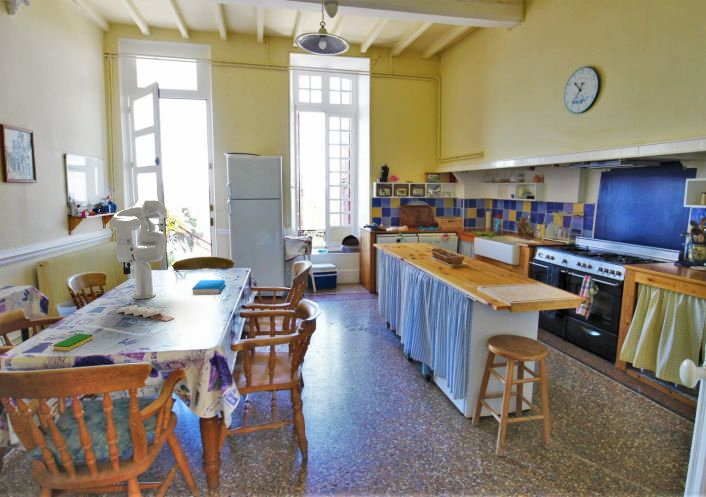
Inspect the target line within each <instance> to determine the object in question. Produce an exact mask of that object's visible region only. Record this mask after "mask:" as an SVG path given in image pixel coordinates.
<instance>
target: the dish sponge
mask: <svg viewBox="0 0 706 497" xmlns="http://www.w3.org/2000/svg"><path fill="white" fill-rule="evenodd" d="M93 338H94V337H93V334H88V333H86V334H85V333H77V334H75V335H72V336H70V337H68V338H65V339H64V340H60V341H59V342H57V343H55V344H53V350H54V349H57V351H71V350H73V349H75V348H78V347H79V346H81V345H83V344H85V343H88V342H89V340H90V341H91V339H92V340H93ZM87 341H88V342H87Z"/></svg>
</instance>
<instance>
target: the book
mask: <svg viewBox="0 0 706 497" xmlns="http://www.w3.org/2000/svg"><path fill="white" fill-rule="evenodd" d="M225 285H226V280H225V279H204V280H203V279H202V280H201V279H200V280H198V282H197V283H196V284H195V285H194V286H193V287H192V288H191V290H192V295H211V294H212V295H213V294H214V295H215V294H216V295H218V294H220V292H221V291H222V290H223V288H224V287H225Z"/></svg>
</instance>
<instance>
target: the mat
mask: <svg viewBox="0 0 706 497" xmlns="http://www.w3.org/2000/svg"><path fill="white" fill-rule="evenodd" d="M106 315H111V316H116V317H117V316H118V317H122V318H129V319H134V320H140V321H146V322H151V321H155V320H154V319H151V316H148V317H143V314H142V315H137V316H134V314H133V313H130V314H125V312H120V313H117V312H116V310H114V311H109V312H107V313H106Z"/></svg>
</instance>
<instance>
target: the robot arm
mask: <svg viewBox="0 0 706 497" xmlns="http://www.w3.org/2000/svg"><path fill="white" fill-rule="evenodd" d="M167 214H168V213H167V208H166V206H165V205H164V204H163V202H162V201H160V200H159V199H157V198H139V199H137V200H136V201H135V202H134V203H133V204H132V205H131V206H130V207H129V208H126V209H122V210H120V211H118V212H116V213H115V214H114V215H113V217H112V218H111V220H110V225H111V228H112V229H113V230H115V237H116V247H115V248H116V249H115V254H116V260H117V262H118V263H119V264H121V267H122V270H123V271H122V272H123V275H125V276H127V275H130V274H131V267H132V265H133V269H134V270H133V271H134V286H135V287H134V288H133V289H132V290H131V293H134V294H133V295H132V298H133V299H138V300H140V299H141V300H144V299H150V298H153V297H156V295H157V294H156V292H154V289H153V272H152V271H153V270H152V266H151V264H150V263H149V262H160V261H162V260H163V257H164V254H165V248H166V244H167V237H166V234H165V233H164V232H162V231H156V225H155V224H154V222H153V221H152V220H151V219H155V220H156V219H164V218H166V217H167ZM139 228H140V229H139ZM138 229H139V232H138V235H137V236H138V237H137V243H138V245H137V246H135V245H134V243H133V233H132V232H133V231H136V230H138Z"/></svg>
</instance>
